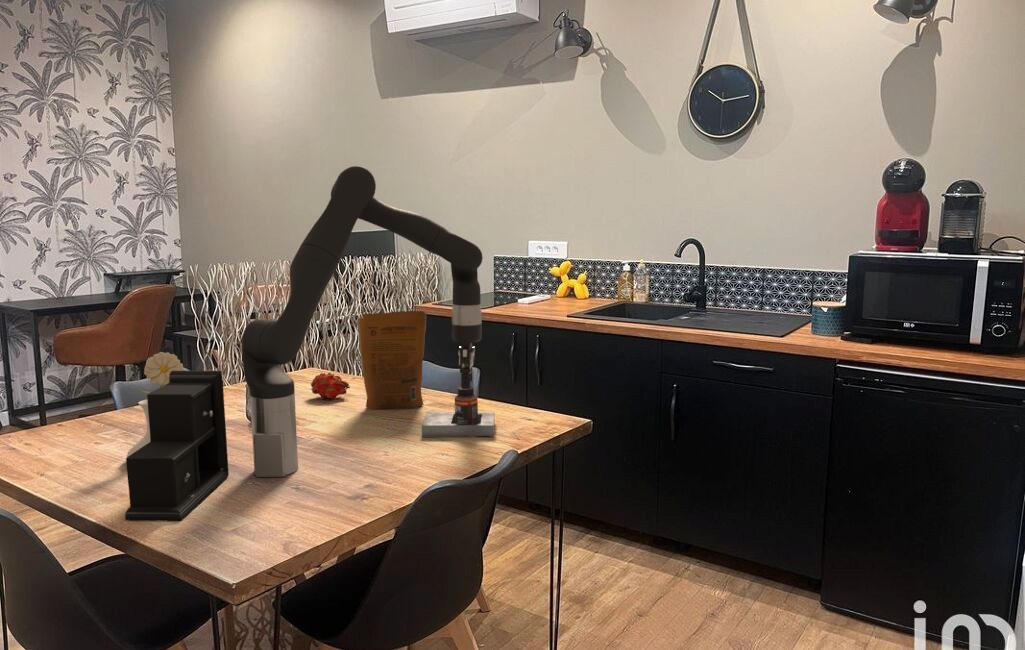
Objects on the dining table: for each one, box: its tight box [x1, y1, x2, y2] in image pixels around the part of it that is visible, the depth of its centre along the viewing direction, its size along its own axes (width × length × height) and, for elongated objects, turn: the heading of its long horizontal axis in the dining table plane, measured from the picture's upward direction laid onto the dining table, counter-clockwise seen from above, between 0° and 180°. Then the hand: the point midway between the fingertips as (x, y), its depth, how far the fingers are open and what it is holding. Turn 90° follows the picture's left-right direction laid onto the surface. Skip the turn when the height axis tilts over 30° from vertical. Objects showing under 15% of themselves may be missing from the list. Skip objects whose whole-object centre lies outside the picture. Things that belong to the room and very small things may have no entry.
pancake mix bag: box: [357, 310, 427, 410], centre depth 216 cm, size 7×19×28 cm, turn 96°
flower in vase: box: [126, 351, 184, 458], centre depth 172 cm, size 13×11×25 cm
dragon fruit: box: [310, 372, 351, 401], centre depth 229 cm, size 8×8×12 cm
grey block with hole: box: [420, 411, 496, 438], centre depth 197 cm, size 12×18×3 cm, turn 90°
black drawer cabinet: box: [124, 370, 230, 522], centre depth 150 cm, size 23×11×24 cm, turn 179°
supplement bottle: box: [454, 385, 479, 424], centre depth 196 cm, size 6×6×11 cm
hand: (466, 384), depth 195 cm, fingers open, 8 cm apart
